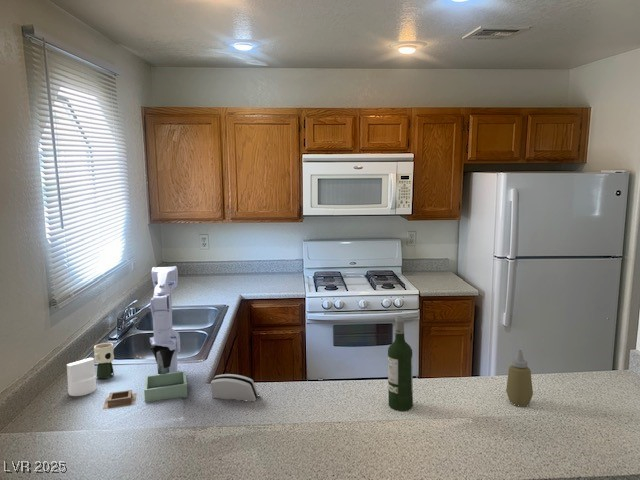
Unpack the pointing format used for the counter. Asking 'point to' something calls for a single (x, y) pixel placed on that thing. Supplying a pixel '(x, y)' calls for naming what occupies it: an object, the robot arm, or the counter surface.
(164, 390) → the bin
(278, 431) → the counter surface
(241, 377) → the grey toaster
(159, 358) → the strut
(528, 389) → the squeeze bottle
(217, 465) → the counter surface
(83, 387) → the white grooved block
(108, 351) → the character mug
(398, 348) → the wine bottle
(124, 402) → the socket block
